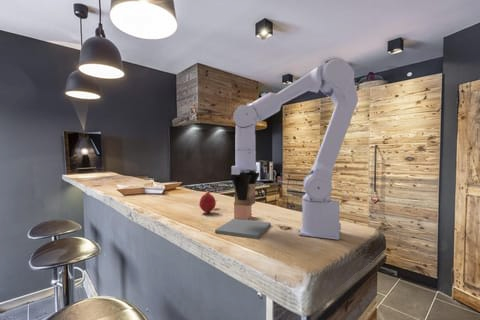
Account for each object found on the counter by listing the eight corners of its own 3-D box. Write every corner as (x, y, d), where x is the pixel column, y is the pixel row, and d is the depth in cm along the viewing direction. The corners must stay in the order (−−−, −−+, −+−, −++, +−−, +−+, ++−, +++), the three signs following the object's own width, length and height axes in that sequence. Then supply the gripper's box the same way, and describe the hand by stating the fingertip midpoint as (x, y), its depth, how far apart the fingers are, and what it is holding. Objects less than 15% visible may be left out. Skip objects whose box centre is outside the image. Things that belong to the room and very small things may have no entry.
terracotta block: (251, 216, 77) (251, 200, 77) (246, 219, 73) (246, 202, 73) (239, 215, 79) (239, 199, 79) (234, 218, 74) (234, 201, 74)
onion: (212, 215, 78) (212, 192, 78) (197, 214, 79) (196, 192, 79) (217, 211, 84) (217, 190, 84) (203, 211, 85) (202, 189, 85)
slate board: (270, 225, 66) (270, 222, 66) (258, 238, 55) (258, 235, 55) (233, 221, 71) (233, 218, 71) (215, 232, 60) (215, 229, 60)
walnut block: (255, 202, 65) (255, 183, 65) (249, 206, 61) (249, 185, 61) (240, 201, 67) (240, 183, 67) (234, 204, 63) (234, 185, 63)
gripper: (242, 151, 72) (242, 193, 72) (220, 150, 59) (221, 202, 59) (263, 151, 69) (263, 195, 69) (246, 149, 56) (246, 204, 56)
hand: (245, 198), depth 64 cm, fingers closed on walnut block, 4 cm apart
